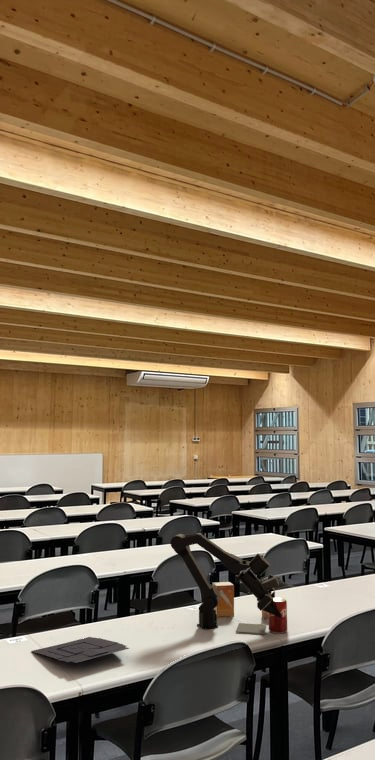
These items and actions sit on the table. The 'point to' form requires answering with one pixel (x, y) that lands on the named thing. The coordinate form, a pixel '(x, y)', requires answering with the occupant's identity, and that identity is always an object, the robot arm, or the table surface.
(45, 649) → the dark grey flat square
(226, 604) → the small box
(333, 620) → the table surface
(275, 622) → the soda can
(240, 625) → the coaster
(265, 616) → the orange-brown round cylinder
